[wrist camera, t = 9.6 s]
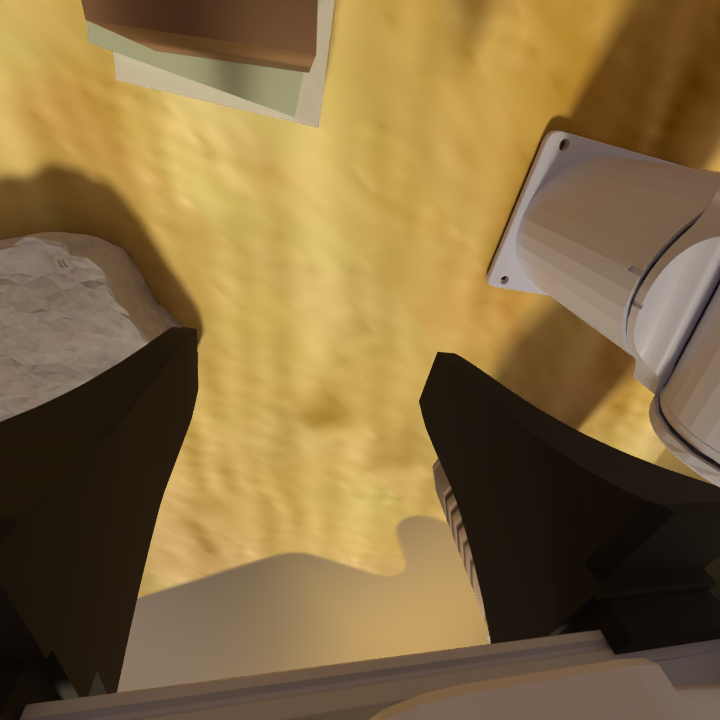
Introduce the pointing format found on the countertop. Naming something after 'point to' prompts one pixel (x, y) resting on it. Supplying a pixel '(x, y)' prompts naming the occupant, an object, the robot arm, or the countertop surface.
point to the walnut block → (217, 28)
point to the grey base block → (176, 84)
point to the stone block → (68, 315)
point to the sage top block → (213, 72)
